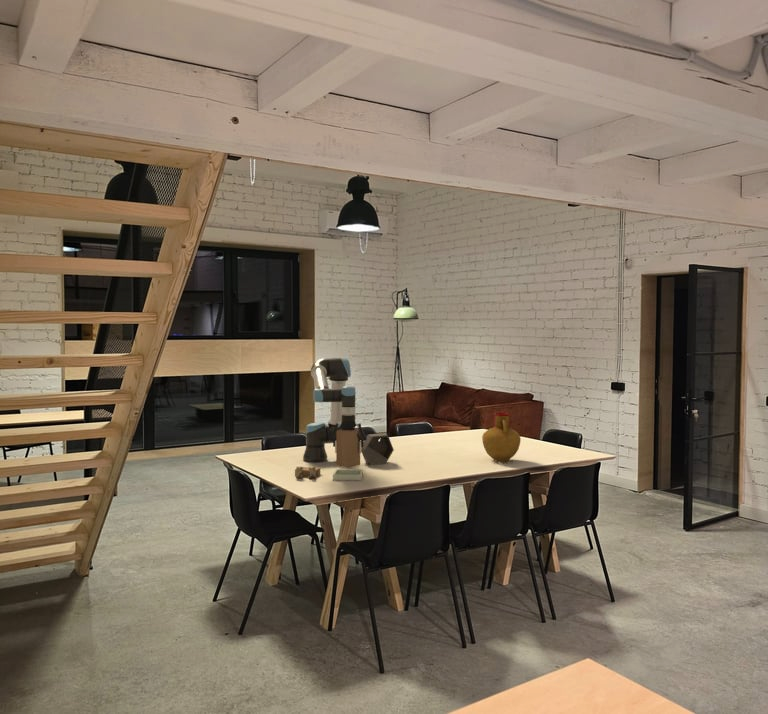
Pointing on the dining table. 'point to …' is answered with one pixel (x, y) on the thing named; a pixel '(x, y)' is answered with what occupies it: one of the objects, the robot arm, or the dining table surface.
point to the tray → (348, 474)
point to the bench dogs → (300, 472)
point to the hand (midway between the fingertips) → (348, 452)
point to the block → (347, 448)
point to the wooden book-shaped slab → (306, 472)
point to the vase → (501, 439)
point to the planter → (377, 449)
